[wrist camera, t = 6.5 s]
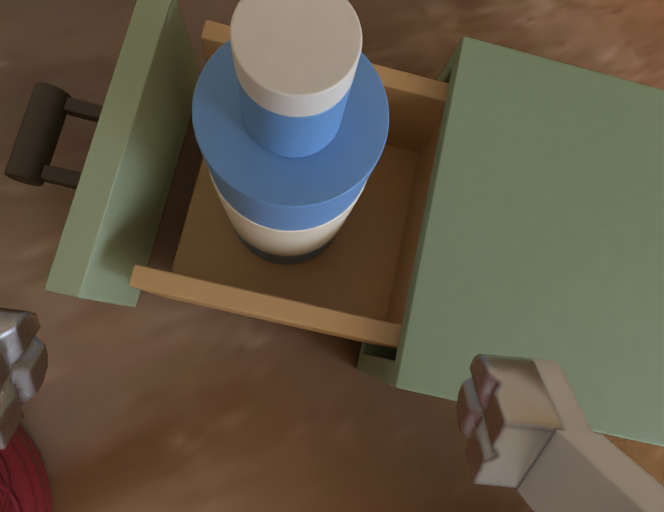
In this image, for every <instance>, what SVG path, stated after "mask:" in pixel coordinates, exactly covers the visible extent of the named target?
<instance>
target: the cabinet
mask: <svg viewBox="0 0 664 512" xmlns="http://www.w3.org/2000/svg"><path fill="white" fill-rule="evenodd" d="M437 81H441V82H445V83H448V84H449V86H448V92H447V97H446V102H445V107H444V112H443V117H442V122H441V127H440V132H439V138H438V143H437V148H436V153H435V158H434V163H433V168H432V173H431V178H430V184H429V189H428V194H427V199H426V204H425V209H424V214H423V219H422V225H421V230H420V235H419V240H418V245H417V250H416V255H415V260H414V265H413V271H412V276H411V281H410V286H409V291H408V296H407V301H406V306H405V311H404V317H403V322H402V327H401V332H400V337H399V342H398V347H397V350H396V349H390V348H386V347H381V346H377V345H372V344H368V343H364V342H362V345H361V349H360V354H359V359H358V364H357V370H359V371H362V372H364V373H366V374H368V375H370V376H372V377H374V378H377V379H379V380H381V381H383V382H385V383H387V384H389V385H392V386H394V387H396V388H400V389H404V390H409V391H413V392H418V393H422V394H427V395H431V396H436V397H440V398H445V399H449V400H454V401H457V399H458V393H459V390H460V388H461V385H462V382H464V381H465V380H467V379H469V378H470V377H472V375H471V371H470V368H469V367H470V364H471V362H472V360H473V358H474V357H475V356H476V355H477V354H488V355H500V356H512V357H524V358H527V359H528V358H535V359H547V360H555V361H556V362H557V363H558V364H559V365H560V366H561V368H562V370H563V372H564V374H565V376H566V378H567V380H568V382H569V384H570V386H571V388H572V391H573V393H574V395H575V397H576V399H577V401H578V403H579V405H580V407H581V409H582V411H583V413H584V415H585V417H586V419H587V421H588V423H589V425H590V427H591V429H592V431H594V432H599V433H603V434H608V435H612V436H617V437H621V438H626V439H631V440H635V441H640V442H644V443H649V444H653V445H658V446H662V447H664V90H662V89H658V88H655V87H651V86H647V85H643V84H640V83H636V82H632V81H629V80H625V79H621V78H618V77H614V76H610V75H606V74H603V73H599V72H595V71H592V70H588V69H584V68H581V67H577V66H573V65H569V64H566V63H562V62H558V61H555V60H551V59H547V58H544V57H540V56H536V55H532V54H529V53H525V52H521V51H518V50H514V49H510V48H507V47H503V46H499V45H496V44H492V43H488V42H484V41H481V40H477V39H473V38H470V37H466V36H463V38H462V39H461V41H460V42H459V44H458V46H457V47H456V50H455V51H454V52H453V54H452V56H451V57H450V59H449V61H448V62H447V64H446V65H445V67H444V69H443V70H442V72H441V73H440V75H439V77H438V78H437Z"/></svg>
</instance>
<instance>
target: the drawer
mask: <svg viewBox="0 0 664 512" xmlns="http://www.w3.org/2000/svg"><path fill="white" fill-rule="evenodd" d="M229 39H230V26H228V25H224V24H221V23H217V22H213V21H209V20H206V21H205V24H204V28H203V31H202V34H201V40H202V43H203V47H204V51H205V55H206V58H207V62H208V60H209V59H210V58H211V56H212V55H213V54H214V53H215V52H216V51H217V50H218V49H219V48H220V47H221V46H222V45H223V44H224V43H225V42H227V41H228V40H229ZM371 64H372V63H371ZM372 65H373V67H374V68H375V70H376V72H377V73H378V75H379V77H380V79H381V82H382V84H383V86H384V89H385V92H386V96H387V100H388V107H389V129H388V136H387V139H386V143H385V146H384V149H383V151H382V154H381V156H380V158H379V160H378V162H377V163H376V165H375V167H374V169H373V171H372V172H371V174H370V176H369V178H368V179H367V182H366V184H365V187H364V189H363V191H362V193H361V195H360V196H359V198H358V200H357V201H356V203H355V205H354V207H353V208H352V210H351V212H350V214H349V215H348V217H347V219H346V220H345V222H344V224H343V225H342V227H341V229H340V230H339V231H338V233H337V234H336V235H335V237H334V239H333V240H332V242H331V243H330V244H329V246H328V247H327V248H326V249H325V250H324V251H323V252H322V253H320V254H319V255H317V256H316V257H314V258H312V259H310V260H308V261H305V262H302V263H298V264H290V265H284V264H276V263H272V262H268V261H266V260H264V259H261V258H259V257H258V256H256V255H255V254H253V253H252V252H251V251H250V250H248V249H247V247H246V246H245V245H244V244H243V243H242V241H241V240H240V239H239V237H238V235H237V233H236V231H235V229H234V227H233V226H232V224H231V222H230V220H229V218H228V216H227V213H226V211H225V209H224V207H223V204H222V202H221V200H220V198H219V196H218V193H217V191H216V189H215V187H214V184H213V182H212V179H211V176H210V174H209V169H208V166H207V164H206V162H205V160H204V157H203V158H202V162H201V165H200V169H199V173H198V176H197V180H196V183H195V187H194V190H193V194H192V198H191V201H190V205H189V208H188V212H187V216H186V219H185V223H184V226H183V230H182V233H181V237H180V241H179V244H178V248H177V251H176V255H175V259H174V262H173V266H172V269H171V272H168V271H163V270H159V269H155V268H150V267H147V266H148V263H149V259H150V256H151V252H152V249H153V245H154V242H155V238H156V235H157V231H158V228H159V224H160V221H161V217H162V214H163V211H164V207H165V204H166V200H167V197H168V193H169V190H170V186H171V183H172V179H173V176H174V172H175V169H176V165H177V162H178V158H179V155H180V151H181V148H182V145H183V141H184V138H185V134H186V131H187V127H188V124H189V120H190V117H191V113H192V100H193V95H194V90H195V86H196V84H197V81H198V78H199V76H200V72H199V68H198V65H197V62H196V59H195V55H194V52H193V49H192V46H191V42H190V39H189V36H188V33H187V29H186V26H185V23H184V20H183V16H182V13H181V10H180V7H179V3H178V0H137V2H136V5H135V8H134V11H133V14H132V17H131V21H130V24H129V27H128V30H127V33H126V36H125V39H124V42H123V45H122V49H121V52H120V55H119V58H118V61H117V64H116V67H115V70H114V74H113V77H112V80H111V83H110V86H109V89H108V92H107V95H106V98H105V102H104V105H103V106H102V105H98V104H94V103H90V102H86V101H82V100H78V99H74V98H71V96H70V95H69V94H68V93H67V92H65V91H64V90H62V89H60V88H58V87H56V86H53V85H50V84H46V83H36V84H35V86H34V89H33V91H32V94H31V97H30V100H29V103H28V106H27V109H26V111H25V114H24V117H23V120H22V123H21V126H20V129H19V132H18V134H17V137H16V140H15V143H14V146H13V149H12V152H11V154H10V157H9V160H8V163H7V166H6V169H5V172H4V173H5V175H6V176H7V177H9V178H11V179H14V180H16V181H19V182H22V183H25V184H29V185H33V186H42V185H43V184H44V181H45V182H48V183H52V184H56V185H60V186H65V187H69V188H73V189H76V192H75V195H74V198H73V201H72V204H71V207H70V211H69V214H68V217H67V220H66V223H65V226H64V229H63V232H62V235H61V239H60V242H59V245H58V248H57V251H56V254H55V257H54V260H53V263H52V267H51V270H50V273H49V276H48V279H47V282H46V285H45V290H47V291H51V292H56V293H60V294H65V295H69V296H74V297H78V298H84V299H90V300H95V301H101V302H107V303H112V304H118V305H123V306H129V307H136V304H137V301H138V297H139V294H140V290H143V291H146V292H149V293H153V294H156V295H159V296H162V297H166V298H169V299H173V300H178V301H182V302H186V303H191V304H195V305H200V306H204V307H209V308H213V309H217V310H222V311H226V312H231V313H235V314H240V315H244V316H248V317H253V318H257V319H262V320H266V321H271V322H275V323H279V324H284V325H288V326H293V327H297V328H302V329H306V330H310V331H315V332H319V333H324V334H328V335H333V336H337V337H341V338H346V339H350V340H355V341H359V342H364V343H368V344H372V345H377V346H381V347H386V348H390V349H396V350H397V347H398V342H399V337H400V332H401V327H402V322H403V317H404V311H405V306H406V301H407V296H408V291H409V286H410V281H411V276H412V271H413V265H414V260H415V255H416V250H417V245H418V240H419V235H420V230H421V225H422V219H423V214H424V209H425V204H426V199H427V194H428V189H429V184H430V178H431V173H432V168H433V163H434V158H435V153H436V148H437V143H438V138H439V132H440V127H441V122H442V117H443V112H444V107H445V102H446V97H447V92H448V86H449V84H448V83H445V82H441V81H437V80H433V79H429V78H426V77H422V76H418V75H414V74H410V73H407V72H403V71H399V70H395V69H391V68H388V67H384V66H380V65H376V64H372ZM67 114H68V115H70V116H74V117H78V118H82V119H86V120H90V121H94V122H98V123H97V126H96V130H95V133H94V136H93V139H92V142H91V145H90V148H89V151H88V154H87V158H86V161H85V164H84V167H83V170H82V173H78V172H74V171H70V170H66V169H62V168H58V167H53V166H50V163H51V160H52V157H53V154H54V151H55V148H56V145H57V142H58V139H59V136H60V133H61V130H62V127H63V124H64V121H65V118H66V115H67Z"/></svg>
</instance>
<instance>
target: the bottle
mask: <svg viewBox="0 0 664 512" xmlns="http://www.w3.org/2000/svg"><path fill="white" fill-rule="evenodd" d="M361 49H362V30H361V25H360V22H359V19H358V17H357V14H356V12H355V10H354V9H353V7H352V5H351V4H350V3H349V1H348V0H240V2H239V3H238V5H237V7H236V9H235V10H234V13H233V16H232V19H231V24H230V39H229V40H228V41H227V42H225V43H224V44H223V45H222V46H221V47H220V48H219V49H218V50H217V51H216V52H215V53H214V54H213V55H212V56H211V58H210V59H209V60H208V62H207V63H206V64H205V66H204V68H203V70H202V72H201V74H200V76H199V78H198V81H197V84H196V86H195V90H194V95H193V100H192V122H193V128H194V133H195V137H196V140H197V142H198V145H199V148H200V150H201V153H202V155H203V157H204V160H205V162H206V164H207V166H208V169H209V174H210V176H211V179H212V182H213V184H214V187H215V189H216V191H217V193H218V196H219V198H220V200H221V202H222V204H223V207H224V209H225V211H226V213H227V216H228V218H229V220H230V222H231V224H232V226H233V227H234V229H235V231H236V233H237V235H238V237H239V239H240V240H241V241H242V243H243V244H244V245H245V246H246V247H247V249H248V250H250V251H251V252H252V253H253V254H255V255H256V256H258V257H259V258H261V259H264V260H266V261H268V262H272V263H276V264H284V265H290V264H298V263H302V262H305V261H308V260H310V259H312V258H314V257H316V256H317V255H319V254H320V253H322V252H323V251H324V250H325V249H326V248H327V247H328V246H329V244H330V243H331V242H332V240H333V239H334V237H335V235H336V234H337V233H338V231H339V230H340V229H341V227H342V225H343V224H344V222H345V220H346V219H347V217H348V215H349V214H350V212H351V210H352V208H353V207H354V205H355V203H356V201H357V200H358V198H359V196H360V195H361V193H362V191H363V189H364V187H365V184H366V182H367V179H368V178H369V176H370V174H371V172H372V171H373V169H374V167H375V165H376V163H377V162H378V160H379V158H380V156H381V154H382V151H383V149H384V146H385V143H386V139H387V136H388V129H389V107H388V100H387V96H386V92H385V89H384V86H383V84H382V82H381V79H380V77H379V75H378V73H377V72H376V70H375V68H374V67H373V65H372V64H371V63H370V61H369V60H368V59H367V57H366V56H365V55H364V54H363V53H362V52H361Z"/></svg>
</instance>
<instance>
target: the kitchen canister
mask: <svg viewBox="0 0 664 512" xmlns="http://www.w3.org/2000/svg"><path fill="white" fill-rule="evenodd" d="M0 512H52V498H51V491H50V485H49V481H48V477H47V473H46V470H45V467H44V464H43V462H42V460H41V457H40V455H39V453H38V451H37V449H36V447H35V446H34V444H33V442H32V441H31V439H30V438H29V436H28V435H27V434H26V432H25V431H24V430H23V429H22V428H21V426H20V425H19V426H18V427H17V429H16V431H15V432H14V434H13V436H12V437H11V439H10V441H9V443H8V444H7V446H6V448H5V449H4V450H3V449H0Z"/></svg>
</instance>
